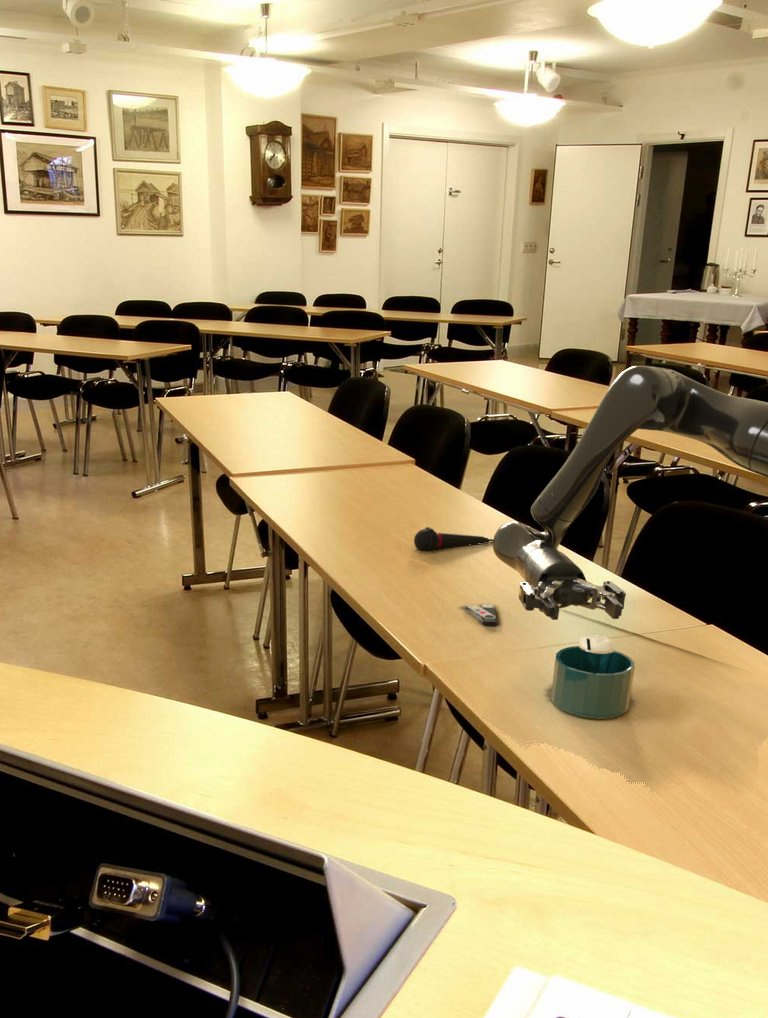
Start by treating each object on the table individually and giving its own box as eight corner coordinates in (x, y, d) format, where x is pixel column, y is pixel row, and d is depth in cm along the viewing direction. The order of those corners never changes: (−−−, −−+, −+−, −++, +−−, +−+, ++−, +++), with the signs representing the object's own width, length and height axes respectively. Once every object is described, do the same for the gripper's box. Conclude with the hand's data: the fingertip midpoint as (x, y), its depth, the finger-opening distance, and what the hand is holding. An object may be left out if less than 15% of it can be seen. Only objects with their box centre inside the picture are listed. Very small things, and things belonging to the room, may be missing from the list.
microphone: (492, 555, 202) (409, 554, 197) (492, 529, 202) (410, 527, 197) (505, 555, 197) (421, 553, 192) (506, 528, 196) (421, 526, 191)
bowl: (581, 680, 134) (586, 640, 132) (643, 705, 126) (650, 662, 124) (535, 698, 129) (540, 657, 127) (597, 725, 121) (603, 681, 119)
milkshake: (564, 699, 127) (571, 634, 124) (582, 687, 131) (590, 622, 127) (595, 709, 124) (604, 643, 121) (612, 696, 128) (622, 631, 124)
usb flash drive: (496, 627, 155) (497, 621, 154) (465, 625, 156) (465, 620, 155) (494, 608, 162) (494, 603, 162) (464, 607, 163) (464, 602, 163)
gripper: (508, 554, 142) (538, 588, 127) (601, 553, 141) (642, 587, 126) (504, 599, 144) (533, 638, 129) (595, 598, 144) (634, 637, 129)
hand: (587, 613), depth 128 cm, fingers open, 8 cm apart
